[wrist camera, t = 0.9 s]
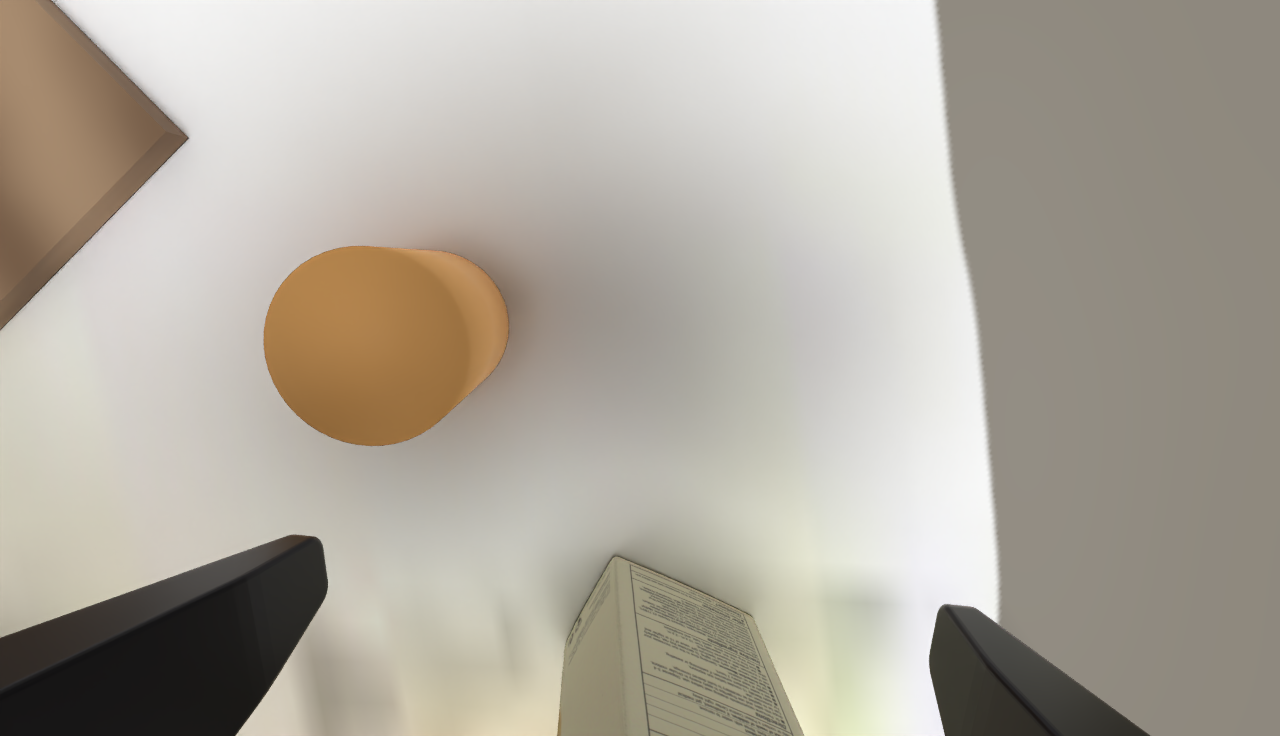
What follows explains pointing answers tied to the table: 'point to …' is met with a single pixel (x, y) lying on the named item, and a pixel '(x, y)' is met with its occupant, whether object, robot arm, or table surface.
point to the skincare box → (667, 664)
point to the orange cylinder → (382, 340)
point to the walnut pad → (64, 144)
